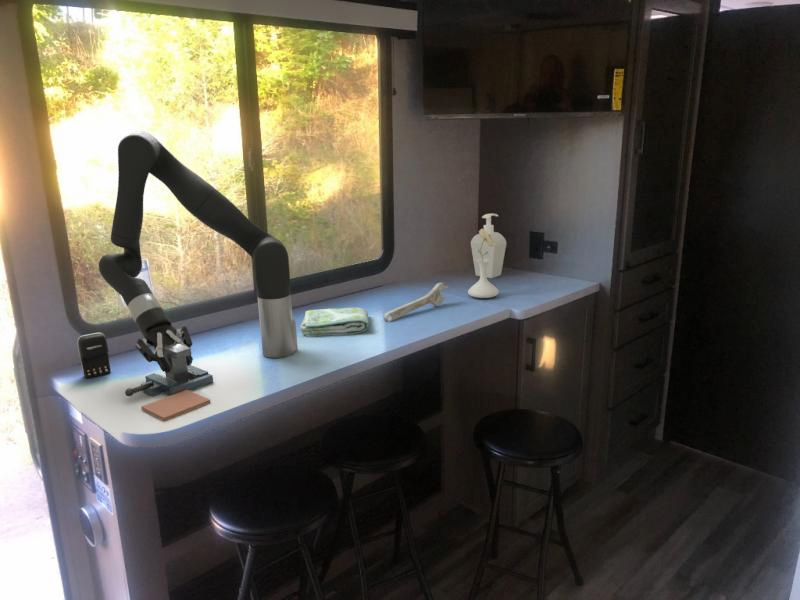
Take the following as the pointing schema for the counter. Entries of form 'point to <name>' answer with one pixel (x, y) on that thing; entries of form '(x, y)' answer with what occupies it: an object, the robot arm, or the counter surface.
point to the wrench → (418, 303)
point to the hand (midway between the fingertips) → (179, 367)
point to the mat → (175, 405)
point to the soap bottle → (489, 250)
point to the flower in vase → (484, 273)
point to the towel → (334, 322)
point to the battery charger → (94, 354)
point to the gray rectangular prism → (177, 362)
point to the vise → (172, 383)
